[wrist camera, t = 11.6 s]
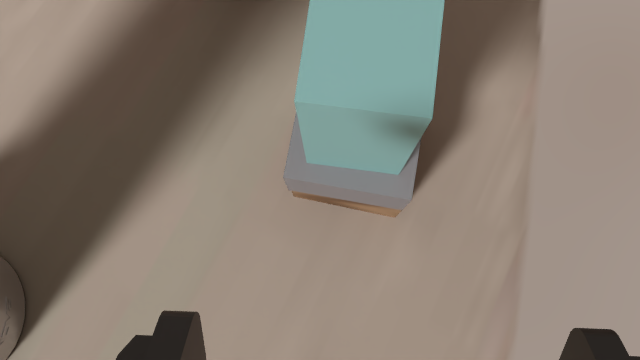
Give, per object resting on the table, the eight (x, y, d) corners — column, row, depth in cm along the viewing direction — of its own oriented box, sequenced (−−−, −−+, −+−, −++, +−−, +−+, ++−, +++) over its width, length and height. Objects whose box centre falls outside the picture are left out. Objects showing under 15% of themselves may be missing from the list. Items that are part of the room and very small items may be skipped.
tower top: (288, 189, 33) (283, 177, 29) (309, 83, 35) (307, 57, 31) (401, 210, 33) (411, 200, 29) (418, 101, 34) (430, 77, 30)
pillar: (306, 162, 29) (294, 101, 20) (319, 76, 30) (313, -24, 21) (398, 174, 29) (432, 118, 19) (408, 87, 30) (445, -9, 20)
